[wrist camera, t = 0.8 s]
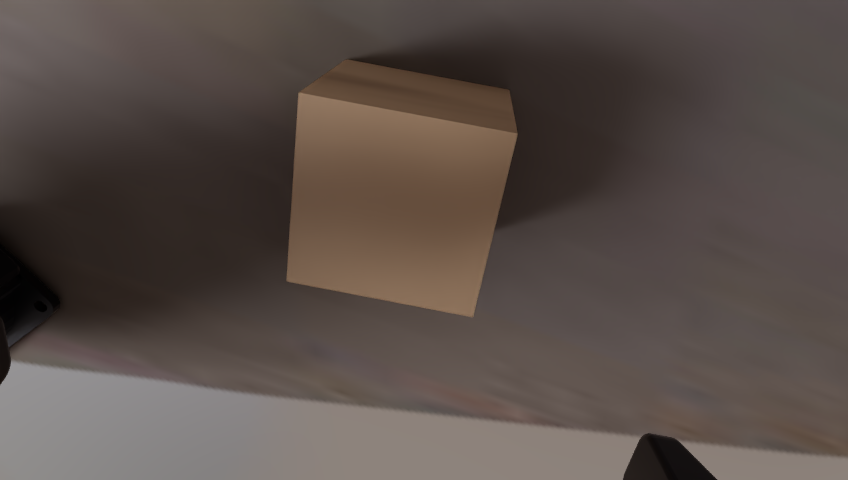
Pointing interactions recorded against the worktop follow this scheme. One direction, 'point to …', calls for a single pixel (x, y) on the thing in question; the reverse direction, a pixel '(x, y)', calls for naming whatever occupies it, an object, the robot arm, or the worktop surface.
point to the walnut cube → (398, 184)
